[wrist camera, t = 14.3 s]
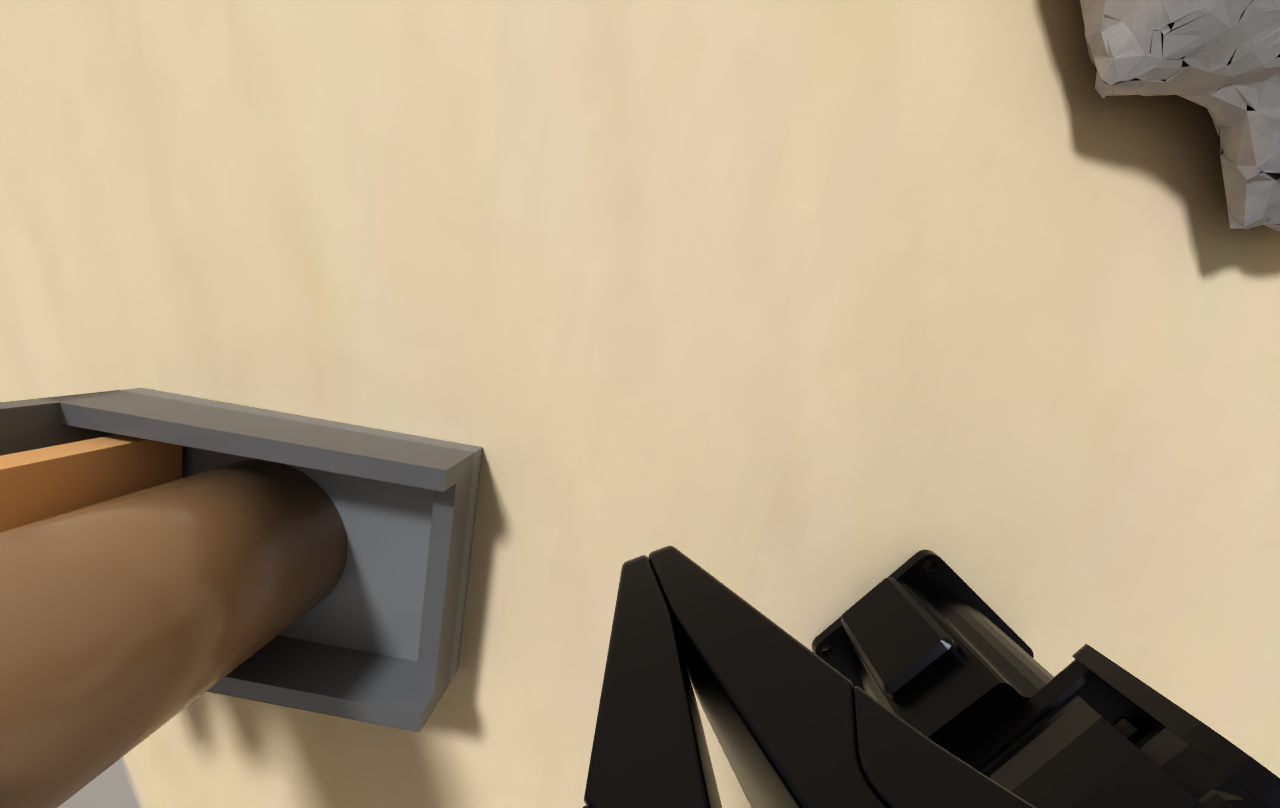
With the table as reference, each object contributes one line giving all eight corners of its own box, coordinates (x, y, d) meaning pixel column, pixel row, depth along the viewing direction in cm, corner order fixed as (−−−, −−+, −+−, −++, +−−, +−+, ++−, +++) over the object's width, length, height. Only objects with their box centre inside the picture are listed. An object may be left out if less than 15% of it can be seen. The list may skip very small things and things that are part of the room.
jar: (366, 488, 19) (-136, 748, 7) (330, 637, 20) (-153, 1078, 8) (201, 433, 19) (-576, 601, 7) (174, 586, 20) (-534, 952, 8)
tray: (482, 447, 20) (387, 507, 13) (457, 670, 21) (360, 827, 14) (140, 387, 20) (-126, 415, 13) (142, 611, 22) (-95, 737, 15)
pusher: (182, 432, 19) (-95, 488, 12) (181, 614, 20) (-71, 760, 13) (154, 427, 19) (-139, 481, 12) (154, 609, 20) (-110, 752, 13)
